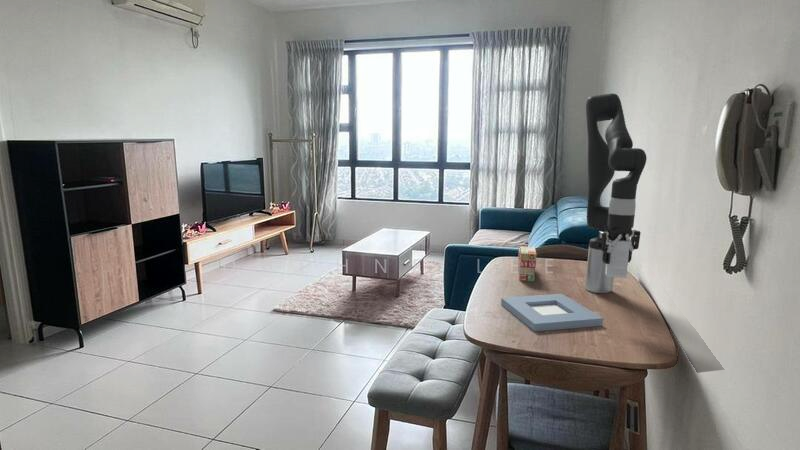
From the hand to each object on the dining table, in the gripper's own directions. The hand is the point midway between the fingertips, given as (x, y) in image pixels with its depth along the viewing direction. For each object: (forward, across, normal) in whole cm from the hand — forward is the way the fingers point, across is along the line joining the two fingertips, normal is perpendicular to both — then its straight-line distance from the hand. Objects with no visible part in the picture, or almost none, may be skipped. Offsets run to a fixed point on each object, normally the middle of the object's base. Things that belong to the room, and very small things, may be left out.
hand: (616, 262), depth 149 cm
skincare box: (+5, 0, 0) cm, 5 cm away
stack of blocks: (+20, +2, -54) cm, 58 cm away
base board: (+20, +17, -9) cm, 28 cm away
